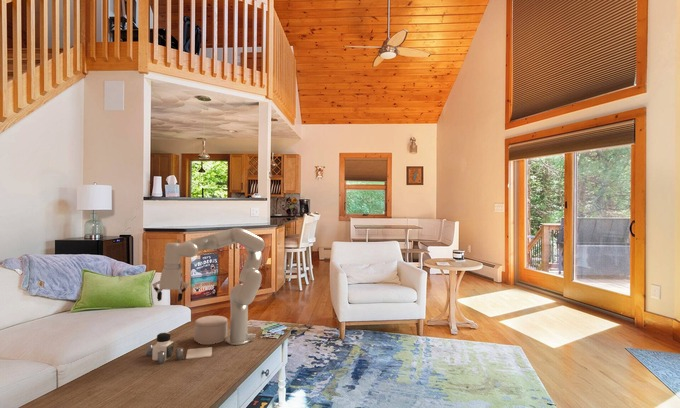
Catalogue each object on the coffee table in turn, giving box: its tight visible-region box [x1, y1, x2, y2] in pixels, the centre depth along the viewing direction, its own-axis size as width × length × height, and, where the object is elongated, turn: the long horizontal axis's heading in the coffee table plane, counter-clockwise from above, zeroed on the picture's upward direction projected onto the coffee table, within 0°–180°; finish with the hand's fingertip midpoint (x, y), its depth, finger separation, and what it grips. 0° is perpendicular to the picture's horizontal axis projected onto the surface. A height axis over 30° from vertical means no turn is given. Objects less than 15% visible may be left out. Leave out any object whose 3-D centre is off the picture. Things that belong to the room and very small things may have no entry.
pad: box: [185, 346, 213, 360], centre depth 187 cm, size 12×12×1 cm
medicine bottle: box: [151, 331, 174, 362], centre depth 181 cm, size 7×7×12 cm
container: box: [193, 315, 229, 345], centre depth 208 cm, size 18×18×12 cm
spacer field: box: [145, 344, 184, 365], centre depth 181 cm, size 18×16×5 cm
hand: (169, 300), depth 185 cm, fingers open, 9 cm apart
